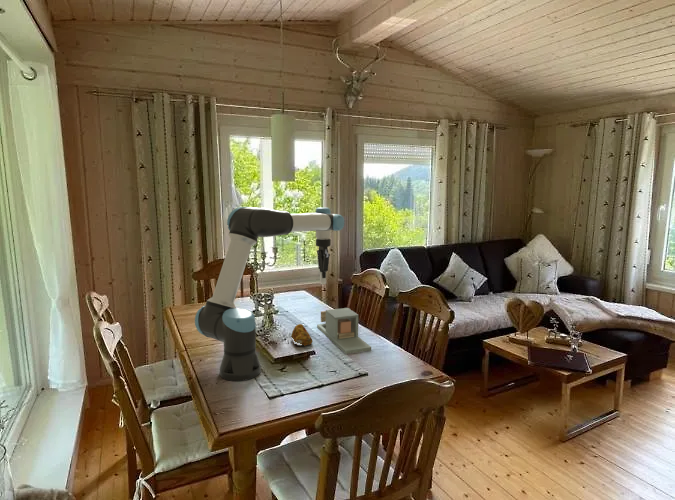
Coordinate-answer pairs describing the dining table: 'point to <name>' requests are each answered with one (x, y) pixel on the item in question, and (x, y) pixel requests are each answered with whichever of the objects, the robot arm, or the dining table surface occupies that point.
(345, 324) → the block
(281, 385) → the dining table surface
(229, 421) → the dining table surface
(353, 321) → the tunnel deck
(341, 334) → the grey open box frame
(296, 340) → the rock
